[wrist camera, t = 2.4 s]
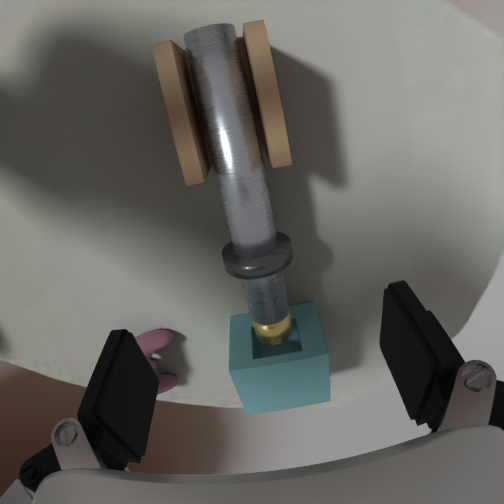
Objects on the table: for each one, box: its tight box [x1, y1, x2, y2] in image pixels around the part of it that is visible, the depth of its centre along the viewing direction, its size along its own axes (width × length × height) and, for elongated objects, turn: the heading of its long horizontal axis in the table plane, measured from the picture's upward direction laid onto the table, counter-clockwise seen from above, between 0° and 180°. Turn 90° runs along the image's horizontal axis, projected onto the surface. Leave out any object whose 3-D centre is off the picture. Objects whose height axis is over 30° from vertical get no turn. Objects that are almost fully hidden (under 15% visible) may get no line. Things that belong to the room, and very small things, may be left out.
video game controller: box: [135, 329, 177, 395], centre depth 33 cm, size 10×5×7 cm, turn 173°
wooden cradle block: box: [152, 20, 292, 187], centre depth 20 cm, size 10×7×7 cm
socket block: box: [229, 301, 330, 415], centre depth 31 cm, size 8×9×8 cm
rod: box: [184, 23, 293, 345], centre depth 22 cm, size 26×5×5 cm, turn 11°
